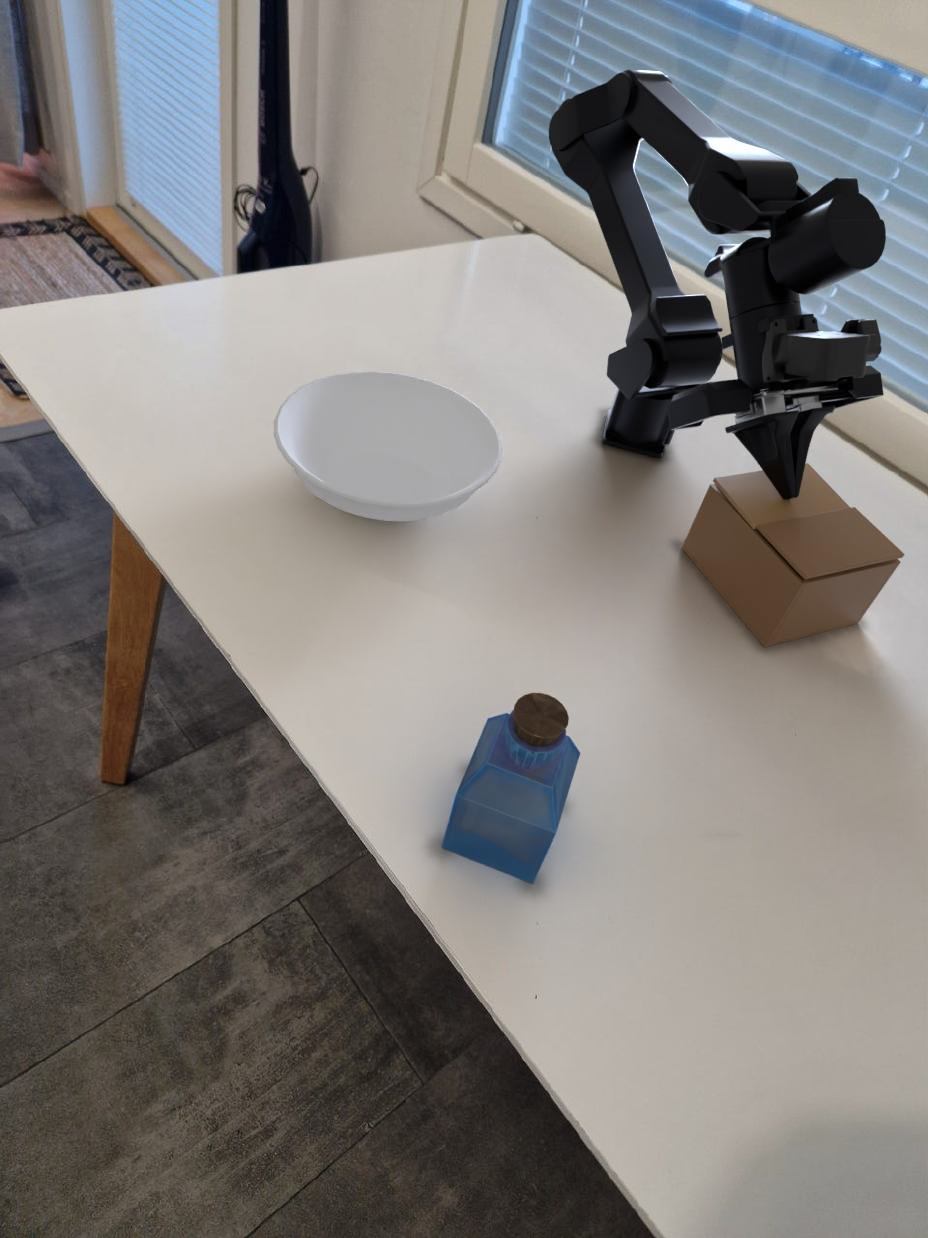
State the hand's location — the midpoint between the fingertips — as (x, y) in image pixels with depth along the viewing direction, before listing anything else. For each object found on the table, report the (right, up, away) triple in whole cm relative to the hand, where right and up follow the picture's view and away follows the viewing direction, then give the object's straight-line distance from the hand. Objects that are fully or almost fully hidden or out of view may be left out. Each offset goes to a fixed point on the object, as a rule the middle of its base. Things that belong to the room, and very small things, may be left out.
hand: (790, 498), depth 74 cm
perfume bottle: (-26, -24, -17) cm, 39 cm away
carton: (0, -7, +5) cm, 9 cm away
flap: (0, 0, +1) cm, 1 cm away
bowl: (-35, +1, +6) cm, 36 cm away
